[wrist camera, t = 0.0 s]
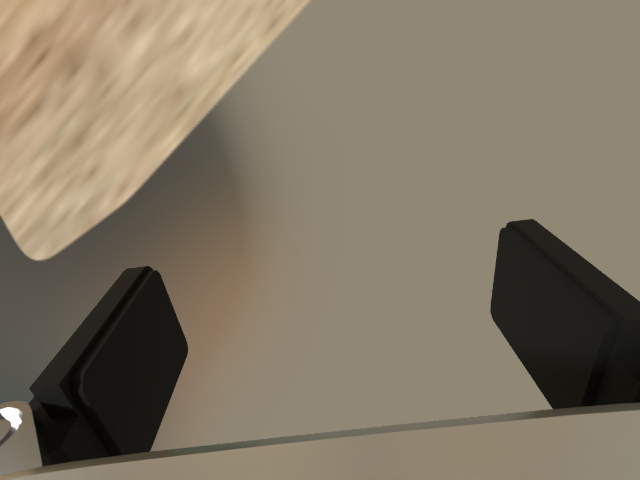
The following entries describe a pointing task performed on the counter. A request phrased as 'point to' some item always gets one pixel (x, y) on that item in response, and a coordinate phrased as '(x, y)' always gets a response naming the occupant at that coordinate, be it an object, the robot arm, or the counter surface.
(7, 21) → the counter surface
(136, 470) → the robot arm
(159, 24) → the counter surface
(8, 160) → the counter surface
